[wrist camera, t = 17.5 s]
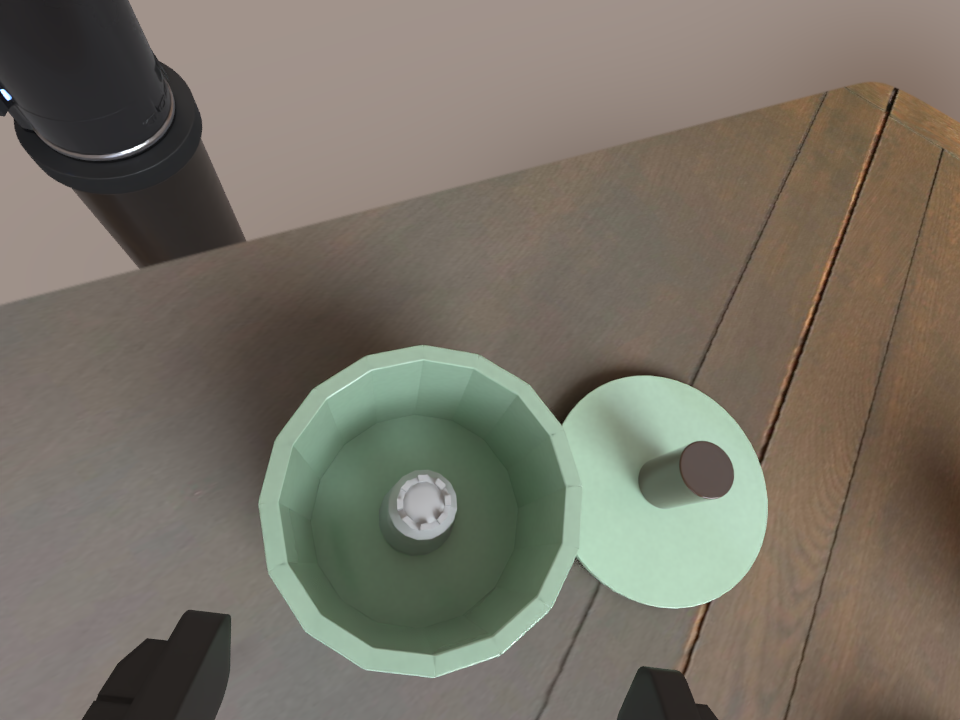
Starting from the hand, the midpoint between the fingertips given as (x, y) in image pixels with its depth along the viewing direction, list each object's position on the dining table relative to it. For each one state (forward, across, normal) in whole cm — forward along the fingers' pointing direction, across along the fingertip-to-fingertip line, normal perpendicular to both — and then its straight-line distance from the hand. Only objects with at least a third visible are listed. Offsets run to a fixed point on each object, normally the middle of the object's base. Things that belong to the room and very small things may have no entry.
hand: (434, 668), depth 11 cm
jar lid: (+22, -15, +9) cm, 28 cm away
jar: (+19, 0, +12) cm, 23 cm away
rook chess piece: (+19, 0, +12) cm, 23 cm away
